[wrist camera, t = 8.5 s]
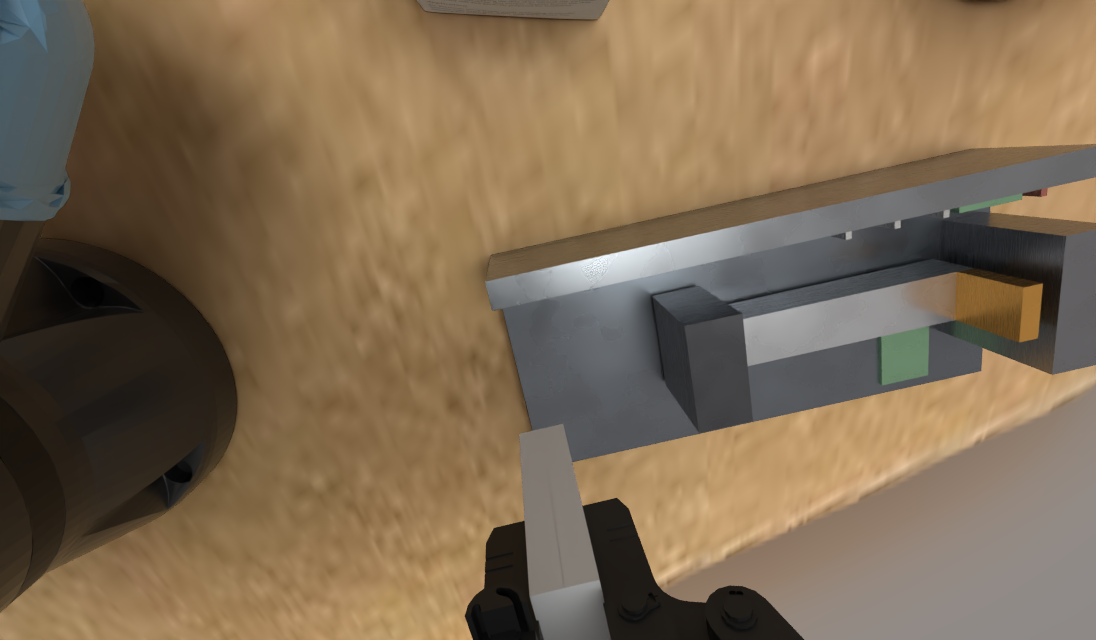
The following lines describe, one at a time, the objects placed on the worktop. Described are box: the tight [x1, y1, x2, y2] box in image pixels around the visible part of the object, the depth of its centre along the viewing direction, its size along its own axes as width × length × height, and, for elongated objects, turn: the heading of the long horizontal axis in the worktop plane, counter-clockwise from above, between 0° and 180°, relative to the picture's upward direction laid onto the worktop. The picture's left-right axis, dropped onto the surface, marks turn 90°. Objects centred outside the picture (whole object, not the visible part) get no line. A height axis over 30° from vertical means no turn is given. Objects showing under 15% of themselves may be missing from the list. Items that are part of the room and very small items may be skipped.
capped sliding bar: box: [652, 259, 1043, 433], centre depth 23 cm, size 14×5×6 cm, turn 102°
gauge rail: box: [485, 144, 1096, 462], centre depth 24 cm, size 25×12×7 cm, turn 102°
